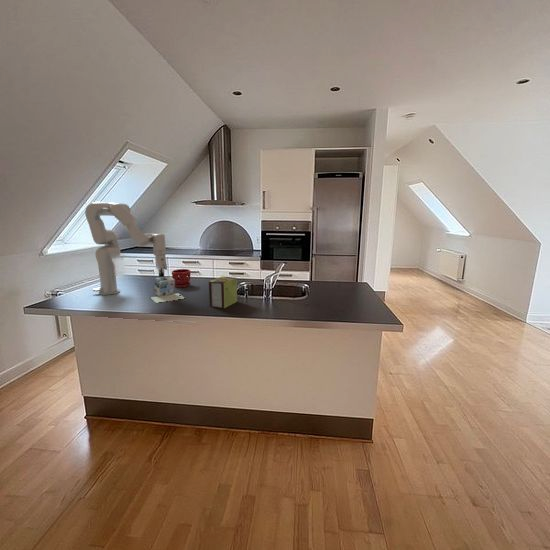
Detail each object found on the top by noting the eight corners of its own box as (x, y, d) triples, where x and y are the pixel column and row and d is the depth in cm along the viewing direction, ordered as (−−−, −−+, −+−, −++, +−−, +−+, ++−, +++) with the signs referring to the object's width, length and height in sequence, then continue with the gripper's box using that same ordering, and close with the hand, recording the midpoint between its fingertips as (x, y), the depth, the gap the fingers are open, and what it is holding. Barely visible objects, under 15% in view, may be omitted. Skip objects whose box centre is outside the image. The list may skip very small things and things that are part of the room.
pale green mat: (155, 303, 178) (155, 302, 177) (150, 297, 189) (150, 297, 189) (185, 298, 188) (185, 298, 188) (178, 293, 199) (178, 293, 199)
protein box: (237, 301, 184) (237, 277, 181) (224, 308, 170) (223, 282, 167) (223, 299, 188) (222, 275, 184) (209, 306, 174) (208, 281, 170)
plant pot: (176, 283, 227) (175, 268, 224) (193, 284, 226) (192, 269, 224) (169, 288, 214) (168, 272, 211) (187, 288, 213) (186, 272, 211)
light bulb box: (158, 296, 190) (160, 282, 186) (153, 292, 193) (154, 277, 189) (173, 293, 198) (175, 279, 194) (167, 289, 202) (169, 275, 198)
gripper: (169, 253, 188) (170, 281, 192) (162, 251, 200) (164, 277, 204) (156, 254, 184) (159, 282, 188) (150, 251, 196) (153, 278, 200)
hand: (161, 279), depth 196 cm, fingers closed
